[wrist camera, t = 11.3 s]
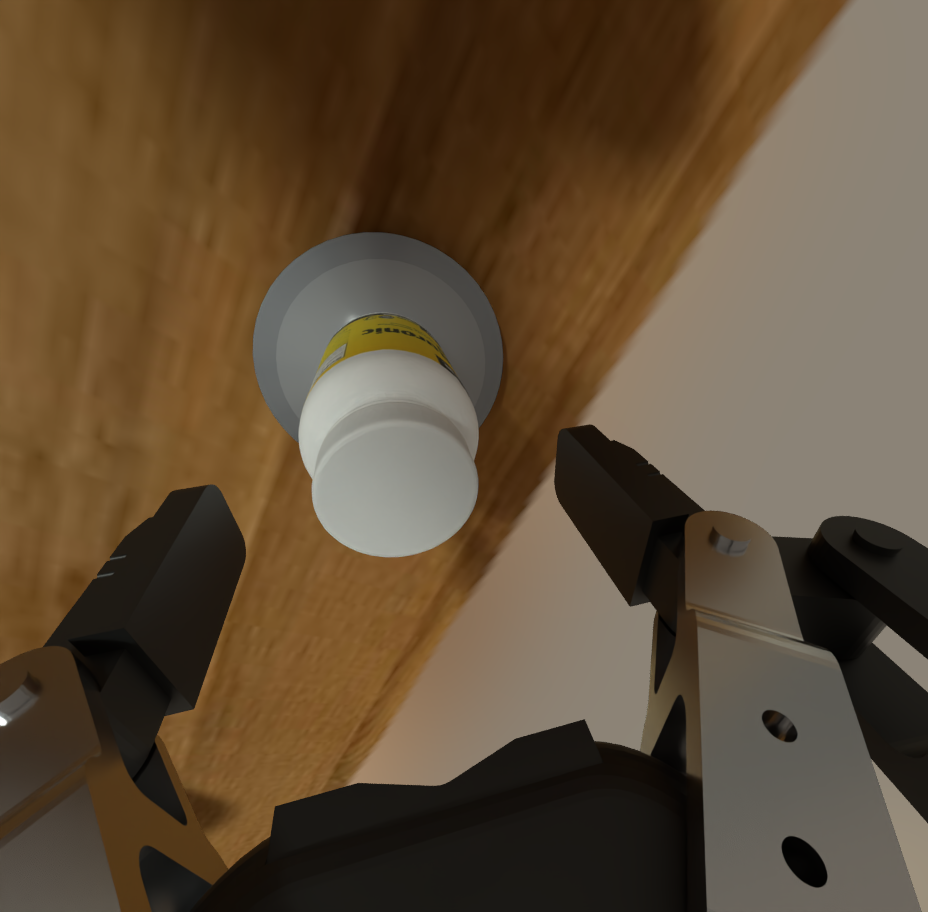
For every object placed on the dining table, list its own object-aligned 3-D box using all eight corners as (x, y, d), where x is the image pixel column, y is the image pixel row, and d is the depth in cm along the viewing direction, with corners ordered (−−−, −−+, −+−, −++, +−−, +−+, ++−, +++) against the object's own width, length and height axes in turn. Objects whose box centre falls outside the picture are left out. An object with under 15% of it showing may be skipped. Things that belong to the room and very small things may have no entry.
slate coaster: (216, 242, 15) (208, 243, 14) (497, 222, 16) (503, 222, 16) (297, 480, 20) (295, 490, 20) (499, 448, 22) (504, 456, 21)
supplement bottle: (468, 357, 18) (550, 468, 10) (402, 444, 20) (424, 603, 11) (365, 279, 16) (358, 340, 7) (299, 386, 17) (232, 535, 9)
